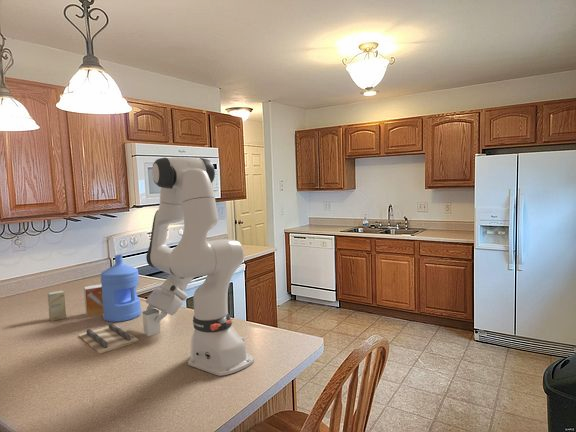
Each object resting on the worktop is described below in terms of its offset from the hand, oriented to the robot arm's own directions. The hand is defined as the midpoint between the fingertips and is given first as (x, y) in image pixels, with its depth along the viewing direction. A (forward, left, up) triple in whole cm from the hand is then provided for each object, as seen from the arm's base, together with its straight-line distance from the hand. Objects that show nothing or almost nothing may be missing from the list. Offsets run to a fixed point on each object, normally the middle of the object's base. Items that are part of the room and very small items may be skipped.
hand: (150, 318), depth 151 cm
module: (0, 0, -6) cm, 6 cm away
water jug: (+30, 0, -6) cm, 31 cm away
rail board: (+8, +14, -6) cm, 17 cm away
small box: (+44, +7, -6) cm, 45 cm away
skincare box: (+51, +21, -6) cm, 55 cm away
